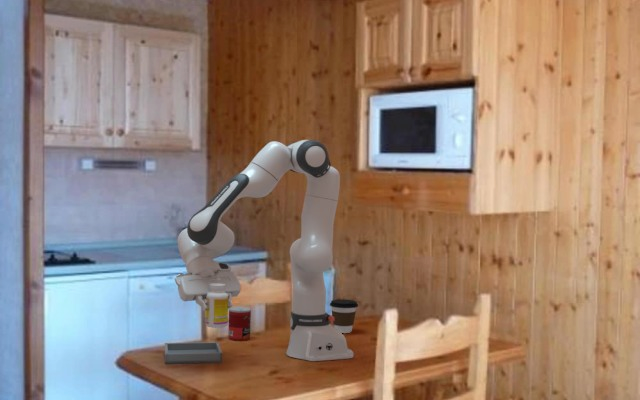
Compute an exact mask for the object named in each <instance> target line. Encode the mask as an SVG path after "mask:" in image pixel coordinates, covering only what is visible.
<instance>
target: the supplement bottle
mask: <svg viewBox="0 0 640 400" xmlns="http://www.w3.org/2000/svg"><path fill="white" fill-rule="evenodd" d="M224 289H225V284H221V283H213V284H210V292H209V293H208V294H207V295H206V299H205V301H206V302H205V303H208V305H209V309H208V310H206V311H205V325H206V327H209V328H214V329H216V328H217V329H220V328H225V327H227V326H229V308H228V294H227V293H226V292H224Z"/></svg>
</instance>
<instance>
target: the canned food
mask: <svg viewBox="0 0 640 400" xmlns="http://www.w3.org/2000/svg"><path fill="white" fill-rule="evenodd" d="M251 311H252V309H251V308H250V307H247V306H246V307H245V306H233V307H231V308H228V330H227V331H228V340H230V341H234V342H235V341H236V342H245V341H249V340H250V338H251V323H252V322H251V320H252V312H251Z"/></svg>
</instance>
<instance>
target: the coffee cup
mask: <svg viewBox="0 0 640 400" xmlns="http://www.w3.org/2000/svg"><path fill="white" fill-rule="evenodd" d="M329 306H330V307H331V315H332V316H333V317H334V322H332V325H333V327H335V328H336V329H337V330H338V331H339V332H341V333H350V332H351V333H352V330H353V326H354V324H355V317H356V312H357V308H358V307H359V304H358V302H357V301H356V300H353V299H345V298H344V299H342V298H339V299H332V300H331V301H330V303H329ZM351 333H350V334H351Z"/></svg>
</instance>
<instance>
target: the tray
mask: <svg viewBox="0 0 640 400" xmlns="http://www.w3.org/2000/svg"><path fill="white" fill-rule="evenodd" d="M164 363H165V365H179V364H181V365H182V364H183V365H185V364H186V365H187V364H216V363H217V364H218V363H219V364H220V363H221V364H222V363H223V351H222V349H221V346H220V343H219V341H217V342H216V341H215V342H214V341H211V342H210V341H209V342H165V343H164Z"/></svg>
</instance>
